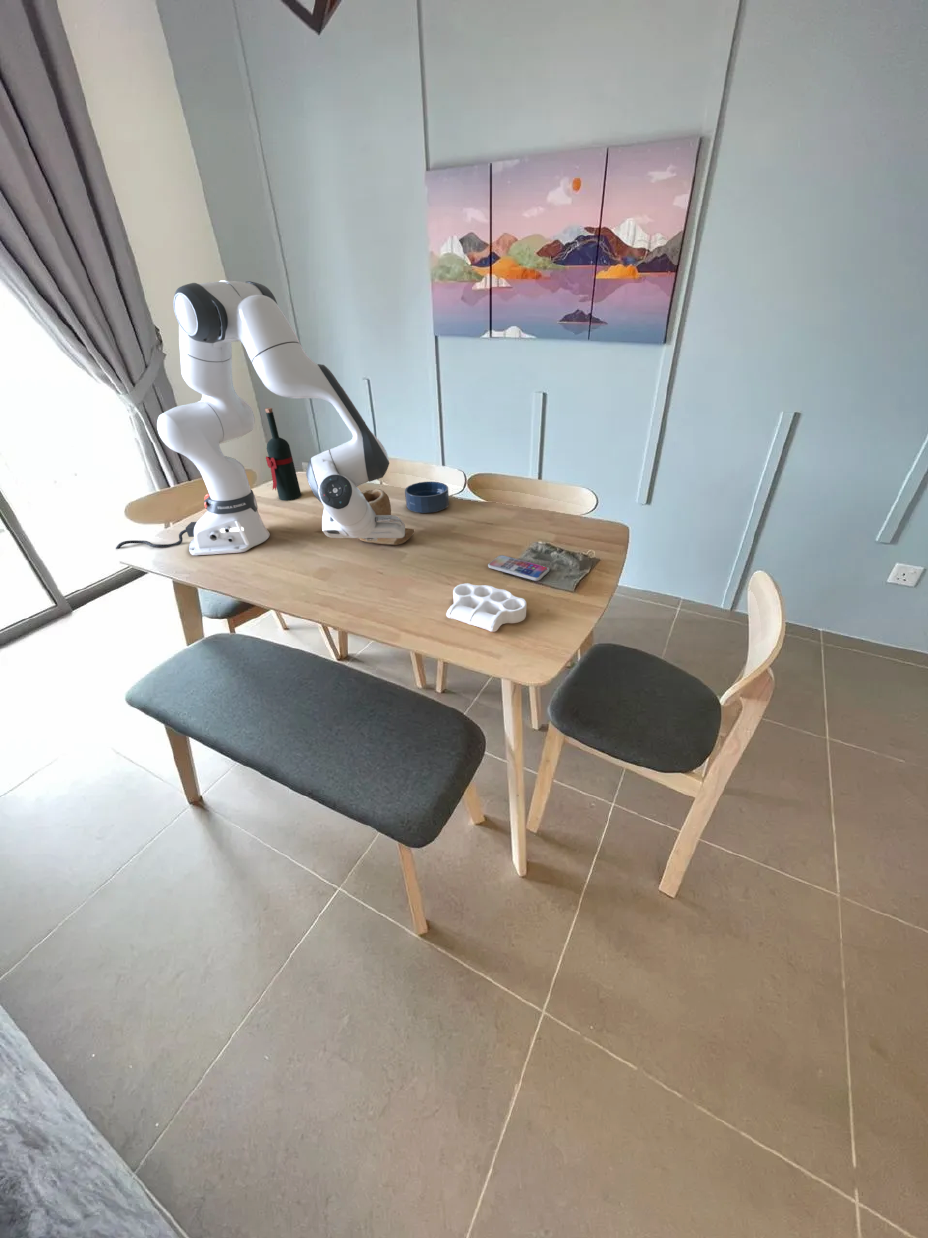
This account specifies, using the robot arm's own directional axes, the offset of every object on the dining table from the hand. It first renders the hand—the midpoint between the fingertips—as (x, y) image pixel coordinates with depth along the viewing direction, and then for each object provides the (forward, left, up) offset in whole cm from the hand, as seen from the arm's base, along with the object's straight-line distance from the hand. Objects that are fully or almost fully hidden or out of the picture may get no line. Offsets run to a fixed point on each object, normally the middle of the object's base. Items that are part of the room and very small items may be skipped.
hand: (372, 538), depth 132 cm
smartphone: (+35, -19, -6) cm, 40 cm away
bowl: (+22, +32, -6) cm, 39 cm away
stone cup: (+4, +10, -6) cm, 12 cm away
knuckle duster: (+21, -35, -6) cm, 41 cm away
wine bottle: (-24, +58, -6) cm, 63 cm away
